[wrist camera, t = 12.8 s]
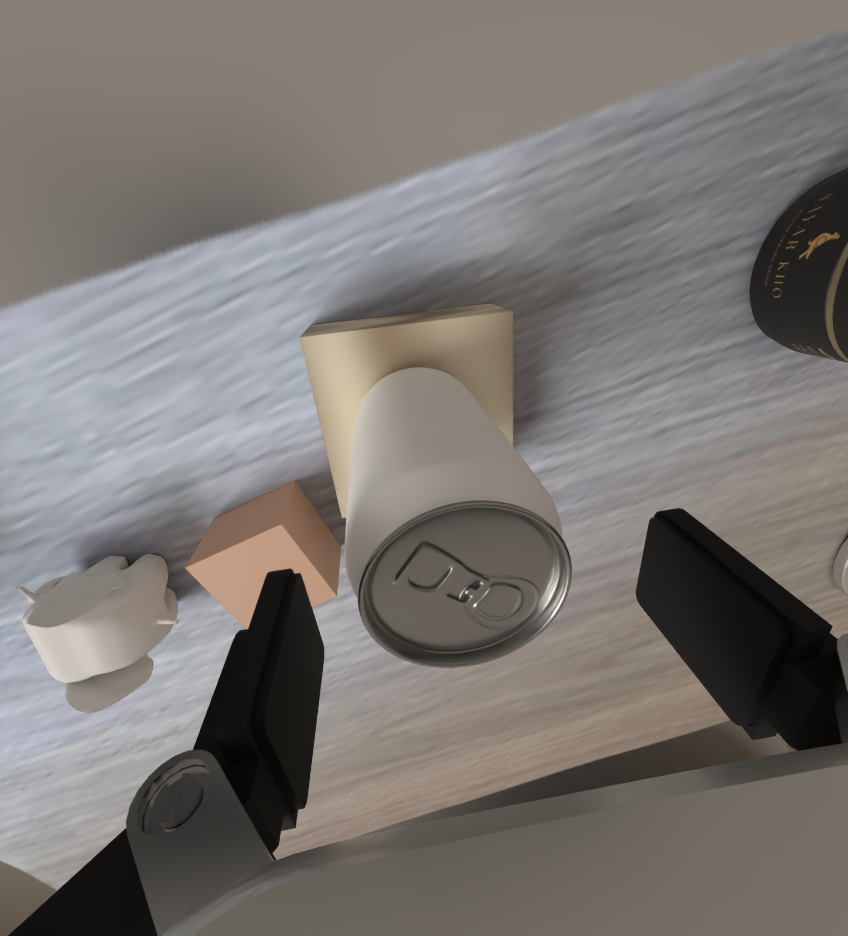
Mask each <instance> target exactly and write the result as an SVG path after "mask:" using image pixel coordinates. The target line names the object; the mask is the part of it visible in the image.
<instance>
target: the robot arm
mask: <svg viewBox="0 0 848 936" xmlns="http://www.w3.org/2000/svg"><path fill="white" fill-rule="evenodd" d="M833 579H834V583H835V584H836V586H837V587H838V589H840V590H841V591H842V592H844V593H845V594H847V595H848V538H847V539H846V540H845V542H844V543H843V544H842V546H841V548H840V550H839V552H838V554H837V556H836V559H835V562H834V565H833ZM636 597H637V600H638V602H639V604H640V606H641V607H642V608H643V610H644V611H645V612H646V613H647V615H648V616H649V617H650V618H651V620H652V621H653V622H654V624H655V625H656V626H657V627H658V629H659V630H660V631H661V632H662V634H663V635H664V636H665V637H666V639H667V640H668V641H669V643H670V644H671V645H672V646H673V648H674V649H675V650H676V651H677V653H678V654H679V655H680V657H681V658H682V659H683V660H684V662H685V663H686V664H687V665H688V667H689V668H690V669H691V670H692V672H693V673H694V674H695V676H696V677H697V678H698V679H699V681H700V682H701V683H702V684H703V686H704V687H705V688H706V689H707V691H708V692H709V693H710V695H711V696H712V697H713V698H714V700H715V701H716V702H717V703H718V705H719V706H720V707H721V708H722V710H723V711H724V712H725V714H726V715H727V716H728V717H729V718H730V720H731V721H732V722H734V723H735V724H736V725H739V726H742V727H743V729H744V730H745V731H746V732H747V734H748V735H749V736H750V737H751V739H752V740H756V739H761V738H767V737H772V736H776V734H777V732H778V733H779V734H780V736H781V737H782V738H783V739H784V740H785V742H786V743H787V752H788V753H782V754H777V755H771V756H766V757H761V758H756V759H750V760H745V761H740V762H734V763H730V764H724V765H719V766H714V767H708V768H703V769H697V770H692V771H687V772H681V773H676V774H671V775H666V776H660V777H656V778H650V779H645V780H640V781H635V782H629V783H624V784H620V785H614V786H609V787H604V788H599V789H594V790H589V791H583V792H578V793H573V794H568V795H563V796H558V797H552V798H547V799H542V800H538V801H532V802H528V803H522V804H517V805H512V806H507V807H502V808H497V809H492V810H487V811H482V812H477V813H472V814H467V815H463V816H457V817H453V818H447V819H442V820H437V821H432V822H427V823H422V824H417V825H413V826H408V827H403V828H399V829H394V830H390V831H386V832H381V833H376V834H372V835H367V836H363V837H358V838H354V839H349V840H345V841H340V842H336V843H332V844H328V845H324V846H321V847H317V848H314V849H310V850H307V851H303V852H300V853H296V854H292V855H290V856H287V857H285V858H282V859H279V860H277V859H276V858H275V856H274V854H273V852H274V851H275V849H276V848H277V847H278V846H279V840H280V834H281V831H282V830H288V829H293V828H296V821H297V813H298V809H303V808H305V806H306V803H307V797H308V789H309V781H310V773H311V764H312V756H313V747H314V739H315V731H316V722H317V714H318V706H319V697H320V689H321V681H322V672H323V664H324V645H323V641H322V638H321V635H320V632H319V629H318V626H317V622H316V619H315V616H314V613H313V610H312V606H311V603H310V600H309V597H308V594H307V590H306V587H305V584H304V581H303V578H302V575H301V573H295V574H294V571H293V570H292V569H291V568H289V569H283V570H276V571H270V572H268V573H267V575H266V577H265V580H264V583H263V586H262V589H261V592H260V595H259V598H258V601H257V604H256V607H255V610H254V613H253V616H252V619H251V622H250V625H249V627H248V629H246V630H240V631H239V632H238V633H237V634H236V635H235V637H234V639H233V642H232V645H231V648H230V650H229V653H228V656H227V658H226V661H225V664H224V667H223V669H222V672H221V675H220V677H219V680H218V683H217V686H216V688H215V691H214V694H213V697H212V699H211V702H210V705H209V707H208V710H207V713H206V716H205V718H204V721H203V724H202V726H201V729H200V732H199V735H198V737H197V740H196V743H195V745H194V748H193V750H189V751H186V752H183V753H181V754H178V755H175V756H174V757H172V758H171V759H169V760H168V761H166V762H165V763H163V764H161V765H160V766H159V767H158V768H157V769H156V770H155V771H154V772H153V773H152V774H151V775H150V776H149V777H148V778H147V779H146V781H145V782H144V783H143V785H142V786H141V787H140V788H139V790H138V791H137V793H136V795H135V797H134V799H133V801H132V803H131V805H130V808H129V812H128V815H127V819H126V829H125V830H123V831H122V832H121V833H120V834H119V835H118V836H117V837H116V838H115V839H114V840H113V841H111V842H110V843H109V844H108V845H107V846H106V847H105V848H104V849H103V850H102V851H100V852H99V853H98V854H97V855H96V856H95V857H94V858H93V859H92V860H91V861H90V862H88V863H87V864H86V865H85V866H84V867H83V868H82V869H81V870H80V871H79V872H77V873H76V874H75V875H74V876H73V877H72V878H71V879H70V880H69V881H68V882H67V883H65V884H64V885H63V886H62V887H61V888H60V889H59V890H58V891H57V892H56V893H55V894H53V895H52V896H51V897H50V898H49V899H48V900H47V901H46V902H45V903H44V904H42V905H41V906H40V907H39V908H38V909H37V910H36V911H35V912H34V913H33V914H32V915H30V917H28V918H27V919H26V920H25V921H24V922H23V923H22V924H21V925H20V926H18V927H17V928H16V929H15V930H14V931H13V932H12V933H11V934H10V935H8V936H848V634H844V635H842V636H841V637H840V638H839V639H837V638H836V637H834V636H833V635H832V634H831V633H830V631H831V629H832V627H833V626H832V625H830V624H829V623H828V622H827V621H825V620H824V619H823V618H821V617H820V616H819V615H818V614H816V613H815V612H814V611H813V610H811V609H810V608H809V607H807V606H806V605H805V604H804V603H802V602H801V601H800V600H798V599H797V598H796V597H795V596H793V595H792V594H791V593H790V592H788V591H787V590H786V589H784V588H783V587H782V586H781V585H779V584H778V583H777V582H776V581H774V580H773V579H772V578H770V577H769V576H768V575H767V574H765V573H764V572H763V571H761V570H760V569H759V568H758V567H756V566H755V565H754V564H753V563H751V562H750V561H749V560H747V559H746V558H745V557H744V556H742V555H741V554H740V553H739V552H737V551H736V550H735V549H733V548H732V547H731V546H730V545H728V544H727V543H726V542H725V541H723V540H722V539H721V538H719V537H718V536H717V535H716V534H714V533H713V532H712V531H710V530H709V529H708V528H707V527H705V526H704V525H703V524H702V523H700V522H699V521H698V520H696V519H695V518H694V517H693V516H691V515H690V514H689V513H688V512H686V511H685V510H683V509H680V508H677V509H671V510H664V511H659V512H657V513H656V514H655V515H654V518H651V519H650V521H649V525H648V530H647V536H646V541H645V546H644V551H643V556H642V562H641V567H640V572H639V577H638V583H637V588H636Z"/></svg>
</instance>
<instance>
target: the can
mask: <svg viewBox="0 0 848 936" xmlns="http://www.w3.org/2000/svg"><path fill="white" fill-rule="evenodd" d="M345 563H346V571H347V575H348V579H349V582H350V584H351V586H352V589H353V591H354V593H355V595H356V596H357V598H358V607H359V612H360V616H361V619H362V621H363V624H364V626H365V627H366V629H367V631H368V632H369V634H370V635H371V636H372V638H373V639H374V640H375V641H376V642H377V643H378V644H379V645H380V646H382V647H383V648H384V649H385V650H387V651H388V652H390V653H391V654H393V655H395V656H397V657H399V658H401V659H404V660H406V661H409V662H412V663H415V664H419V665H424V666H430V667H441V668H454V667H465V666H472V665H477V664H481V663H485V662H489V661H492V660H495V659H498V658H500V657H503V656H505V655H507V654H509V653H511V652H513V651H515V650H517V649H519V648H521V647H522V646H524V645H525V644H527V643H528V642H530V641H531V640H533V639H534V638H535V637H536V636H538V635H539V634H540V633H541V632H542V631H543V630H544V629H545V628H546V627H547V626H548V625H549V624H550V623H551V622H552V621H553V619H554V618H555V617H556V615H557V614H558V612H559V611H560V609H561V608H562V606H563V604H564V602H565V600H566V597H567V595H568V592H569V589H570V584H571V577H572V565H571V559H570V555H569V551H568V549H567V546H566V544H565V542H564V540H563V539H562V530H561V523H560V518H559V515H558V512H557V509H556V507H555V505H554V503H553V501H552V499H551V497H550V495H549V494H548V492H547V491H546V489H545V488H544V486H543V485H542V484H541V482H540V481H539V479H538V478H537V477H536V475H535V474H534V473H533V471H532V470H531V469H530V468H529V466H528V465H527V464H526V462H525V461H524V460H523V458H522V457H521V456H520V455H519V453H518V452H517V451H516V449H515V448H514V447H513V446H512V444H511V443H510V442H509V440H508V439H507V438H506V437H505V435H504V434H503V433H502V432H501V430H500V429H499V428H498V426H497V425H496V424H495V423H494V421H493V420H492V419H491V418H490V416H489V415H488V414H487V413H486V411H485V410H484V409H483V408H482V406H481V405H480V404H479V403H478V401H477V400H476V399H475V398H474V396H473V395H472V394H471V393H470V392H469V390H468V389H467V388H466V387H465V386H464V385H463V384H462V383H461V382H459V381H458V380H457V379H456V378H454V377H452V376H451V375H449V374H447V373H445V372H442V371H440V370H436V369H432V368H424V367H416V368H407V369H403V370H399V371H396V372H394V373H392V374H390V375H388V376H386V377H384V378H383V379H381V380H380V381H378V382H377V383H376V384H375V385H374V386H373V387H372V388H371V389H370V390H369V391H368V392H367V394H366V395H365V397H364V398H363V400H362V402H361V404H360V406H359V408H358V411H357V414H356V419H355V425H354V434H353V445H352V456H351V467H350V480H349V492H348V505H347V518H346V533H345Z"/></svg>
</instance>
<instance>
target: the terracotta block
mask: <svg viewBox="0 0 848 936" xmlns="http://www.w3.org/2000/svg"><path fill="white" fill-rule="evenodd" d="M340 554H341V545H340V544H339V542H338V541H337V539H336V538H335V536H334V535H333V534H332V532H331V531H330V529H329V528H328V526H327V525H326V524H325V522H324V521H323V519H322V518H321V517H320V515H319V514H318V512H317V511H316V509H315V508H314V507H313V505H312V504H311V502H310V501H309V499H308V498H307V497H306V495H305V494H304V492H303V491H302V489H301V488H300V487H299V485H298V484H297V482H296V481H293V482H291V483H289V484H287V485H284V486H282V487H280V488H278V489H276V490H274V491H271V492H269V493H267V494H265V495H263V496H261V497H259V498H256V499H254V500H252V501H250V502H248V503H246V504H243V505H241V506H239V507H237V508H235V509H233V510H230V511H228V512H226V513H224V514H222V515H220V516H218V517H215V518H214V520H213V521H212V523H211V525H210V526H209V528H208V530H207V531H206V533H205V535H204V536H203V538H202V540H201V542H200V543H199V545H198V547H197V548H196V550H195V552H194V553H193V555H192V557H191V559H190V560H189V562H188V564H187V565H186V567H185V569H186V570H187V571H188V572H189V573H190V574H191V575H192V576H193V577H194V578H195V579H196V580H197V581H198V582H199V583H200V584H201V585H202V586H203V587H204V588H205V589H206V590H207V591H208V592H209V593H210V594H211V595H212V596H213V597H214V598H215V599H216V600H217V601H218V602H219V603H220V604H221V605H222V606H223V607H224V608H225V609H226V610H227V611H228V612H229V613H230V614H231V615H232V616H233V617H234V618H235V619H236V620H237V621H238V622H239V623H240V624H241V625H242V626H243V627H244V628H245V629H248V627H249V625H250V622H251V619H252V616H253V613H254V610H255V607H256V604H257V601H258V598H259V595H260V592H261V589H262V586H263V583H264V580H265V577H266V575H267V573H268V572H270V571H276V570H283V569H289V568H291V569H292V570H293V571H294V574H295V573H301V575H302V578H303V581H304V584H305V587H306V590H307V594H308V597H309V600H310V603H311V606H312V607H313V606H315V605H318V604H320V603H322V602H325V601H327V600H329V599H332V598H334V597H336V596H337V589H338V577H339V566H340Z"/></svg>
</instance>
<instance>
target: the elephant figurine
mask: <svg viewBox="0 0 848 936" xmlns="http://www.w3.org/2000/svg"><path fill="white" fill-rule="evenodd" d="M167 581H168V570H167V565H166V562H165V560H164V559H163V558H162V557H160V556H158V555H153V554H146V555H144V556H142V557H140V558H139V559H138V560H136V561H135V562H134V563H133V564H132V565H131V566H130V567H129V565H128V562H127V559H126V558H125V557H122V556H109V557H106V558H104V559H103V560H101V561H100V562H98V563H96V564H95V565H94V566H92V567H91V568H89V569H88V570H86V571H85V572H84V573H79V572H76V573H71V574H70V575H68V576H64V577H59V578H56V579H54V580H52V581H50V582H48V583H46V584H45V585H43V586H42V587H40V588H39V589H38V590H37V591H36V592H35V593H33V592H30V591H29V590H27V589H25V588H24V587H16V589H17V590H19V591H20V592H22V593H23V594H24V595H25V596H26V597H28V600H29V601H30V604H31V606H30V608H29V609H28V610H27V611H26V612H25V614H24V615H23V617H22V622H23V624H24V627H25V629H26V631H27V632H28V634H29V636H30V638H31V639H32V641H33V643H34V645H35V647H36V649H37V650H38V652H39V654H40V656H41V658H42V660H43V662H44V663H45V665H46V667H47V670H48V671H49V673H50V674H51V675H52V677H54V678H55V679H56V680H59V681H63V682H64V683H65V686H66V690H65V696H66V699H67V701H68V702H69V704H70V705H71V706H72V707H73V708H74V709H76V710H78V711H81V712H85V713H93V712H97V711H100V710H102V709H104V708H106V707H109V706H111V705H112V704H114V703H116V702H118V701H119V700H121V699H123V698H124V697H126V696H127V695H129V694H130V693H131V692H133V691H134V690H136V689H137V688H138V687H140V686H141V685H142V684H144V683H145V682H147V681H148V679H149V678H150V676H151V674H152V670H153V660H152V659H151V658H150V657H148V656H147V653H148V652H149V651H150V650H152V649H153V648H154V647H155V646H156V645H157V644H159V643H160V642H161V641H162V640H163V639H164V638H165V637H166V635H167V634H168V633H169V632H170V630H171V629H172V627H173V625H174V623H175V624H177V623H178V622H179V620H176V617H177V612H178V604H177V599H176V595H175V592H174V591H173V590H172V589H170V588H167V587H166V585H167Z"/></svg>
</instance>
